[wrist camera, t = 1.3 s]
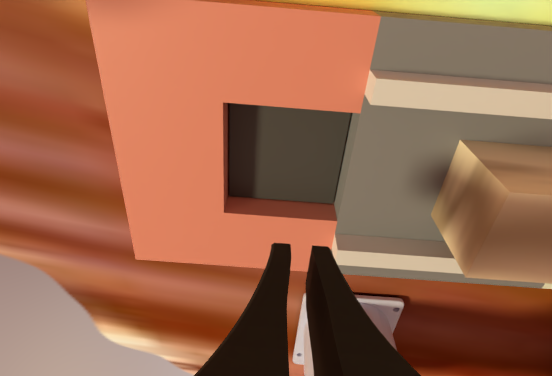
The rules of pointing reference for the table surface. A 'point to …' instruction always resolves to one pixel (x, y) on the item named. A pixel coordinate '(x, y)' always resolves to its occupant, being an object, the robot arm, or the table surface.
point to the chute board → (307, 126)
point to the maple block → (498, 211)
